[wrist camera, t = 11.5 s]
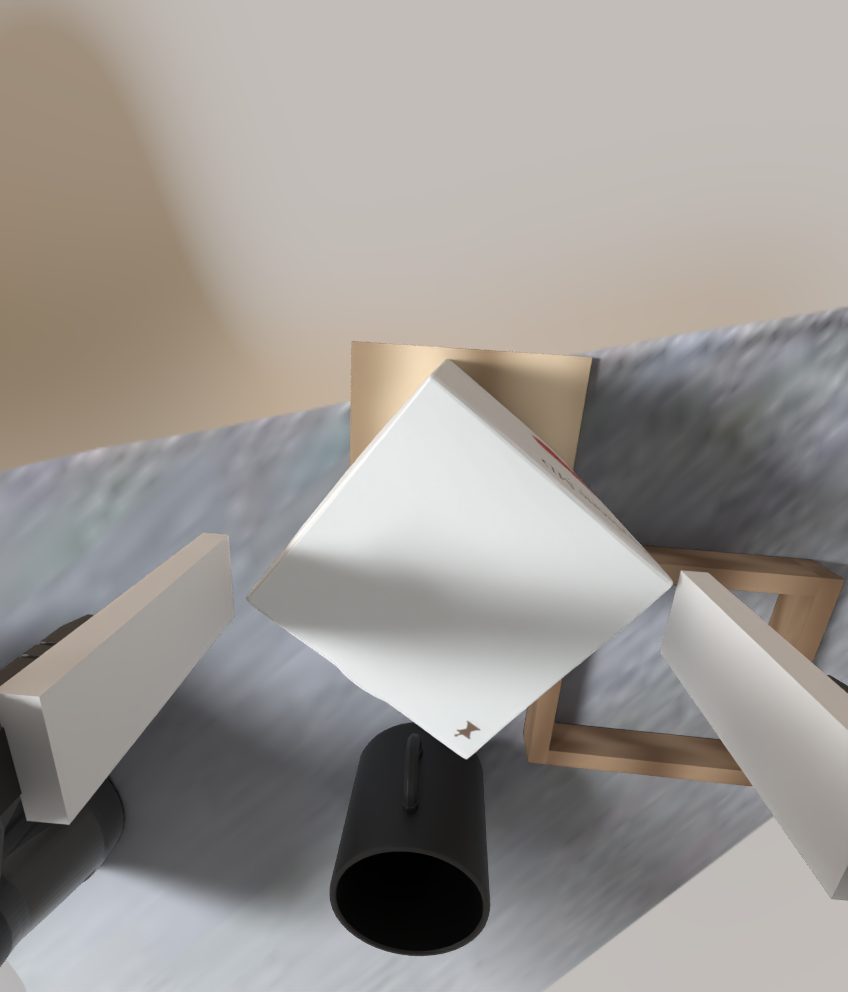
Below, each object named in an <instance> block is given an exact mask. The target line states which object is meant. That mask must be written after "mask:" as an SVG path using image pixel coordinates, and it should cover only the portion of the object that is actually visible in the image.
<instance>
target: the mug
mask: <svg viewBox="0 0 848 992" xmlns="http://www.w3.org/2000/svg"><path fill="white" fill-rule="evenodd" d="M330 901H331V906H332V909H333V911H334V913H335V915H336V917H337V918H338V920H339V921H340V922H341V924H342V925H343V926H344V927H345V928H346V929H347V930H348V931H349V932H350V933H352V934H353V935H354V936H356V937H357V938H359V939H360V940H362V941H363V942H365V943H367V944H369V945H371V946H374V947H376V948H378V949H381V950H384V951H387V952H392V953H396V954H401V955H409V956H429V955H437V954H443V953H447V952H450V951H453V950H456V949H458V948H460V947H462V946H464V945H466V944H468V943H469V942H471V941H472V940H473V939H474V938H476V937H477V936H478V935H479V934H480V932H481V931H482V930H483V928H484V927H485V925H486V922H487V920H488V916H489V911H490V893H489V876H488V858H487V841H486V823H485V806H484V788H483V772H482V767H481V764H480V761H479V759H478V757H477V756H476V754H475V753H474V754H473V755H472V756H471V757H469V758H468V759H465V758H463V757H461V756H460V755H458V754H457V753H455V752H454V751H453V750H451V749H450V748H448V747H447V746H446V745H444V744H443V743H442V742H440V741H439V740H437V739H436V738H435V737H433V736H432V735H431V734H429V733H428V732H427V731H425V730H424V729H423V728H421V727H420V726H418V725H417V724H416V723H411V724H403V725H398V726H395V727H392V728H389V729H387V730H385V731H383V732H381V733H380V734H378V735H377V736H376V737H375V738H374V739H372V740H371V741H370V743H369V744H368V745H367V746H366V748H365V749H364V751H363V753H362V755H361V757H360V761H359V765H358V769H357V774H356V778H355V782H354V786H353V791H352V795H351V799H350V803H349V807H348V812H347V816H346V820H345V824H344V829H343V833H342V837H341V841H340V846H339V850H338V854H337V858H336V863H335V867H334V871H333V875H332V880H331V884H330Z"/></svg>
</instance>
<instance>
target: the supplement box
mask: <svg viewBox="0 0 848 992" xmlns="http://www.w3.org/2000/svg"><path fill="white" fill-rule="evenodd" d="M672 584H673V581H672V580H671V578H670V577H669V576H668V574H667V573H666V572H665V571H664V570H663V569H662V568H661V567H660V566H659V564H658V563H657V562H656V561H655V560H654V559H653V558H652V557H651V556H650V554H649V553H648V552H647V551H646V550H645V549H644V548H643V547H642V546H641V544H640V543H639V542H638V541H637V540H636V539H635V538H634V537H633V536H632V535H631V534H630V533H629V531H628V530H627V529H626V528H625V527H624V526H623V525H622V524H621V523H620V522H619V520H618V519H617V518H616V517H615V516H614V515H613V514H612V513H611V512H610V511H609V509H608V508H607V507H606V506H605V505H604V504H603V503H602V502H601V501H600V500H599V499H598V498H597V497H596V495H595V494H594V493H593V492H592V491H591V490H590V489H589V488H588V487H587V486H586V485H585V484H584V483H583V481H582V480H581V479H580V478H579V477H578V476H577V475H576V474H575V473H574V472H573V471H572V469H571V468H570V467H569V466H568V465H567V464H566V463H565V462H564V461H563V459H562V458H561V457H560V456H559V455H558V454H557V453H556V452H555V451H554V450H552V449H551V448H550V447H549V446H548V445H547V444H546V443H545V442H544V441H543V440H542V439H540V438H539V437H538V436H537V435H536V434H535V433H534V432H533V431H532V430H531V429H529V428H528V427H527V426H526V425H525V424H524V423H523V422H521V421H520V420H519V419H518V418H517V417H516V416H515V415H513V414H512V413H511V412H510V411H509V410H508V409H507V408H505V407H504V406H503V405H502V404H501V403H500V402H498V401H497V400H496V399H495V398H494V397H493V396H492V395H490V394H489V393H488V392H487V391H486V390H485V389H483V388H482V387H481V386H480V385H479V384H478V383H477V382H475V381H474V380H473V379H472V378H471V377H470V376H469V375H467V374H466V373H465V372H464V371H463V370H462V369H460V368H459V367H458V366H457V365H456V364H455V363H453V362H452V361H451V360H449V359H446V360H444V361H443V362H442V363H441V364H440V365H439V367H437V368H436V369H435V370H434V371H433V372H432V373H431V374H430V375H429V376H428V377H427V378H426V380H425V381H424V382H423V383H422V384H421V385H420V386H419V387H418V388H417V390H416V391H415V392H414V393H413V394H412V395H411V396H410V397H409V399H408V400H407V401H406V402H405V403H404V404H403V405H402V407H401V408H400V409H399V410H398V411H397V412H396V413H395V415H394V416H393V417H392V418H391V419H390V420H389V422H388V423H387V424H386V425H385V426H384V427H383V429H382V430H381V431H380V432H379V433H378V434H377V435H376V437H375V438H374V439H373V440H372V441H371V443H370V444H369V445H368V446H367V447H366V449H365V450H364V451H363V452H362V453H361V455H360V456H359V457H358V458H357V459H356V461H355V462H354V463H353V464H352V465H351V467H350V468H349V469H348V470H347V471H346V473H345V474H344V475H343V476H342V478H341V479H340V480H339V481H338V482H337V484H336V485H335V486H334V487H333V489H332V490H331V491H330V492H329V494H328V495H327V496H326V497H325V499H324V500H323V501H322V502H321V504H320V505H319V506H318V507H317V508H316V510H315V511H314V512H313V513H312V515H311V516H310V517H309V518H308V520H307V521H306V522H305V523H304V525H303V526H302V527H301V528H300V530H299V531H298V532H297V533H296V535H295V536H294V537H293V538H292V540H291V541H290V542H289V543H288V545H287V546H286V547H285V548H284V550H283V551H282V552H281V553H280V555H279V556H278V557H277V558H276V560H275V561H274V562H273V564H272V565H271V566H270V567H269V568H268V570H267V571H266V572H265V573H264V574H263V576H262V577H261V578H260V579H259V580H258V582H257V583H256V584H255V585H254V586H253V588H252V589H251V590H250V592H249V593H248V594H247V597H246V599H247V601H248V602H249V603H250V605H252V606H253V607H254V608H256V609H257V610H259V611H260V612H261V613H263V614H264V615H266V616H267V617H269V618H270V619H271V620H273V621H274V622H276V623H277V624H278V625H280V626H281V627H283V628H284V629H285V630H287V631H288V632H289V633H291V634H292V635H294V636H295V637H296V638H298V639H299V640H301V641H302V642H303V643H305V644H306V645H308V646H309V647H310V648H312V649H313V650H315V651H316V652H317V653H319V654H320V655H322V656H323V657H324V658H326V659H327V660H329V661H330V662H331V663H333V664H334V665H335V666H337V667H338V668H339V669H340V671H341V672H342V673H343V674H344V675H345V676H346V677H347V678H349V679H350V680H351V681H352V682H353V683H355V684H356V685H357V686H359V687H360V688H361V689H363V690H364V691H366V692H368V693H369V694H371V695H373V696H375V697H377V698H379V699H381V700H383V701H385V702H387V703H388V704H390V705H391V706H392V707H394V708H395V709H396V710H398V711H399V712H401V713H402V714H403V715H405V716H406V717H408V718H409V719H410V720H412V721H413V722H414V723H416V724H417V725H418V726H420V727H421V728H423V729H424V730H425V731H427V732H428V733H429V734H431V735H432V736H433V737H435V738H436V739H437V740H439V741H440V742H442V743H443V744H444V745H446V746H447V747H448V748H450V749H451V750H453V751H454V752H455V753H457V754H458V755H460V756H461V757H463V758H465V759H468V758H469V757H471V756H472V755H473V754H474V753H475V752H477V751H478V750H479V749H480V748H481V747H482V746H483V745H484V744H485V743H487V742H488V741H489V740H490V739H491V738H492V737H493V736H495V735H496V734H497V733H498V732H499V731H500V730H502V729H503V728H504V727H505V726H506V725H507V724H508V723H510V722H511V721H512V720H513V719H514V718H515V717H517V716H518V715H519V714H520V713H521V712H523V711H524V710H525V709H526V708H527V707H528V706H530V705H531V704H532V703H533V702H534V701H536V700H537V699H538V698H539V697H540V696H541V695H543V694H544V693H545V692H546V691H547V690H549V689H550V688H551V687H552V686H553V685H555V684H556V683H557V682H558V681H559V680H561V679H562V678H563V677H564V676H565V675H567V674H568V673H569V672H570V671H571V670H573V669H574V668H575V667H576V666H578V665H579V664H580V663H582V662H583V661H584V660H585V659H586V658H588V657H589V656H590V655H591V654H593V653H594V652H595V651H596V650H598V649H599V648H600V647H601V646H603V645H604V644H605V643H606V642H608V641H609V640H610V639H611V638H613V637H614V636H615V635H616V634H618V633H619V632H620V631H621V630H623V629H624V628H625V627H626V626H628V625H629V624H630V623H631V622H632V621H633V620H635V619H636V618H637V617H638V616H639V615H640V614H641V613H642V612H644V611H645V610H646V609H647V608H648V607H649V606H650V605H651V604H653V603H654V602H655V601H656V600H657V599H658V598H659V597H661V596H662V595H663V594H664V593H665V592H666V591H667V590H669V589H670V588H671V586H672Z"/></svg>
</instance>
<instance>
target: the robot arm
mask: <svg viewBox="0 0 848 992" xmlns="http://www.w3.org/2000/svg"><path fill="white" fill-rule="evenodd" d="M234 617H235V615H234V601H233V588H232V574H231V560H230V546H229V535H224V534H212V533H202V534H201V535H200V536H198V537H197V538H196V539H194V540H193V541H192V542H190V543H189V544H188V545H186V546H185V547H184V548H182V549H181V550H180V551H178V552H177V553H176V554H174V555H173V556H172V557H170V558H169V559H168V560H166V561H165V562H164V563H163V564H161V565H160V566H159V567H157V568H156V569H155V570H153V571H152V572H151V573H149V574H148V575H147V576H145V577H144V578H143V579H141V580H140V581H139V582H137V583H136V584H135V585H133V586H132V587H131V588H130V589H128V590H127V591H126V592H124V593H123V594H122V595H120V596H119V597H118V598H116V599H115V600H114V601H112V602H111V603H110V604H108V605H107V606H106V607H104V608H103V609H102V610H100V611H99V612H98V613H96V614H95V615H86V616H83V617H81V618H79V619H77V620H75V621H72V622H70V623H68V624H66V625H64V626H62V627H60V628H59V629H57V630H56V631H55V632H53V633H52V634H50V635H49V636H48V637H46V638H45V639H43V640H42V641H41V643H40V645H35V646H34V647H32V648H31V649H30V650H28V651H27V652H25V653H24V654H23V657H22V658H17V659H16V660H14V661H13V662H12V663H10V664H9V665H7V666H6V667H5V668H3V669H2V670H1V671H0V967H1V965H2V964H3V962H4V961H5V960H6V958H7V957H8V955H9V954H10V953H11V952H12V950H13V949H14V948H15V946H16V945H17V944H18V943H19V942H20V941H21V939H22V938H24V937H25V936H26V935H27V934H28V933H29V932H30V931H31V930H32V929H33V928H35V927H36V926H37V925H38V924H39V923H40V922H41V921H42V920H43V919H44V918H45V917H47V916H48V915H49V914H50V913H51V912H52V911H53V910H54V909H55V908H56V907H57V906H58V905H60V904H61V903H62V902H63V901H64V900H65V899H66V898H67V897H68V896H69V895H70V894H71V893H72V892H73V891H74V890H75V889H76V888H77V887H78V886H79V885H80V884H81V883H83V882H84V881H86V880H87V879H88V878H90V877H91V876H92V875H93V874H94V873H95V872H96V871H97V870H98V868H99V867H100V866H101V865H102V863H103V862H104V860H105V859H106V858H107V856H108V855H109V853H110V852H111V850H112V849H113V847H114V846H115V844H116V843H117V842H118V840H119V838H120V836H121V834H122V830H123V826H124V813H123V808H122V804H121V801H120V799H119V796H118V794H117V792H116V790H115V789H114V787H113V786H112V784H111V783H110V781H109V780H108V779H107V777H108V775H109V774H110V773H111V772H112V770H113V769H114V768H115V767H116V765H117V764H118V763H119V761H120V760H121V759H122V758H123V756H124V755H125V754H126V753H127V751H128V750H129V749H130V748H131V746H132V745H133V744H134V743H135V741H136V740H137V739H138V738H139V736H140V735H141V734H142V732H143V731H144V730H145V729H146V727H147V726H148V725H149V724H150V722H151V721H152V720H153V719H154V717H155V716H156V715H157V714H158V712H159V711H160V710H161V709H162V707H163V706H164V705H165V704H166V702H167V701H168V700H169V698H170V697H171V696H172V695H173V693H174V692H175V691H176V690H177V688H178V687H179V686H180V685H181V683H182V682H183V681H184V680H185V678H186V677H187V676H188V675H189V673H190V672H191V671H192V669H193V668H194V667H195V666H196V664H197V663H198V662H199V661H200V659H201V658H202V657H203V656H204V654H205V653H206V652H207V651H208V649H209V648H210V647H211V646H212V644H213V643H214V642H215V640H216V639H217V638H218V637H219V635H220V634H221V633H222V632H223V630H224V629H225V628H226V627H227V625H228V624H229V623H230V622H231V620H232V619H233V618H234ZM660 653H661V655H662V656H663V657H664V659H665V660H666V662H667V663H668V665H669V666H670V667H671V669H672V670H673V672H674V673H675V675H676V676H677V678H678V679H679V680H680V682H681V683H682V685H683V686H684V688H685V689H686V691H687V692H688V693H689V695H690V696H691V698H692V699H693V701H694V702H695V703H696V705H697V706H698V708H699V709H700V711H701V712H702V714H703V715H704V716H705V718H706V719H707V721H708V722H709V724H710V725H711V726H712V728H713V729H714V731H715V732H716V734H717V735H718V737H719V738H720V739H721V741H722V742H723V744H724V745H725V747H726V748H727V750H728V751H729V752H730V754H731V755H732V757H733V758H734V760H735V761H736V762H737V764H738V765H739V767H740V768H741V770H742V771H743V773H744V774H745V775H746V777H747V778H748V780H749V781H750V783H751V784H752V786H753V787H754V788H755V790H756V791H757V793H758V794H759V796H760V797H761V798H762V800H763V801H764V803H765V804H766V806H767V807H768V809H769V810H770V811H771V813H772V814H773V816H774V817H775V819H776V820H777V822H778V823H779V824H780V826H781V827H782V829H783V830H784V832H785V833H786V834H787V836H788V837H789V839H790V840H791V842H792V843H793V845H794V846H795V847H796V849H797V850H798V852H799V853H800V855H801V856H802V858H803V859H804V860H805V862H806V863H807V865H808V866H809V868H810V869H811V870H812V872H813V873H814V875H815V876H816V878H817V879H818V881H819V882H820V883H821V885H822V886H823V887H824V889H825V891H826V892H827V893H828V895H829V896H830V898H831V899H839V900H848V686H847V685H845V684H844V683H842V682H840V681H839V680H837V679H835V678H834V677H832V676H830V675H826V674H825V673H823V672H822V671H821V670H820V669H819V668H818V667H816V666H815V665H814V664H813V663H812V662H811V661H810V660H808V659H807V658H806V657H805V656H804V655H803V654H801V653H800V652H799V651H798V650H797V649H796V648H795V647H793V646H792V645H791V644H790V643H789V642H788V641H786V640H785V639H784V638H783V637H782V636H781V635H780V634H778V633H777V632H776V631H775V630H774V629H773V628H771V627H770V626H769V625H768V624H767V623H766V622H765V621H763V620H762V619H761V618H760V617H759V616H758V615H756V614H755V613H754V612H753V611H752V610H751V609H750V608H748V607H747V606H746V605H745V604H744V603H743V602H741V601H740V600H739V599H738V598H737V597H736V596H735V595H733V594H732V593H731V592H730V591H729V590H728V589H726V588H725V587H724V586H723V585H722V584H721V583H720V582H718V581H717V580H716V579H715V578H714V577H713V576H711V575H710V574H709V573H707V572H694V571H682V570H681V572H680V576H679V580H678V584H677V588H676V591H675V595H674V599H673V603H672V607H671V611H670V615H669V618H668V622H667V626H666V630H665V634H664V638H663V641H662V645H661V649H660Z"/></svg>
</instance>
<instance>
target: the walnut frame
mask: <svg viewBox="0 0 848 992" xmlns="http://www.w3.org/2000/svg"><path fill="white" fill-rule="evenodd" d="M641 546H642V545H641ZM642 547H643V548H644V549H645V550H646V551H647V552H648V553H649V554H650V556H651V557H652V558H653V559H654V560H655V561H656V562H657V563H658V564H659V566H660V567H661V568H662V569H663V570H664V571H665V572H666V573H667V574H668V576H669V577H670V578H671V580H672V581H673V584H674V585H677V584H678V580H679V576H680V572H681V570H682V571H694V572H707V573H709V574H710V575H711V576H713V577H714V578H715V579H716V580H717V581H718V582H720V583H721V584H722V585H723V586H724V587H725V588H726V589H731V590H742V591H754V592H765V593H776V594H779V596H778V599H777V602H776V605H775V608H774V611H773V614H772V617H771V619H770V622H769V626H770V627H771V628H773V629H774V630H775V631H776V632H777V633H778V634H780V635H781V636H782V637H783V638H784V639H785V640H786V641H788V642H789V643H790V644H791V645H792V646H793V647H795V648H796V649H797V650H798V651H799V652H800V653H801V654H803V655H804V656H805V657H806V658H807V659H808V660H810V661H811V662H813V660H814V657H815V655H816V652H817V650H818V647H819V645H820V642H821V639H822V637H823V634H824V632H825V629H826V627H827V624H828V622H829V619H830V617H831V614H832V612H833V609H834V606H835V604H836V601H837V599H838V596H839V594H840V591H841V589H842V586H843V584H844V581H845V580H844V579H843V578H841V577H839V576H838V575H836V574H835V573H833V572H831V571H830V570H828V569H826V568H825V567H823V566H821V565H820V564H818V563H817V562H815V561H813V560H808V559H796V558H784V557H772V556H760V555H749V554H737V553H725V552H713V551H701V550H690V549H678V548H666V547H654V546H642ZM561 683H562V679H561V680H559V681H558V682H557V683H556V684H555V685H553V686H552V687H551V688H550V689H549V690H547V691H546V692H545V693H544V694H543V695H541V696H540V697H539V698H538V699H537V700H536V701H534V702H533V703H532V704H531V705H530V706H528V707H527V712H526V718H525V724H524V730H523V735H524V741H525V747H526V753H527V759H528V762H529V763H538V764H548V765H557V766H566V767H576V768H585V769H594V770H604V771H613V772H622V773H632V774H641V775H650V776H660V777H669V778H678V779H688V780H697V781H706V782H716V783H725V784H734V785H744V786H752V784H751V783H750V781H749V780H748V778H747V777H746V775H745V774H744V773H743V771H742V770H741V768H740V767H739V765H738V764H737V762H736V761H735V760H734V758H733V757H732V755H731V754H730V752H729V751H728V750H727V748H726V747H725V745H724V744H723V742H722V741H721V740H717V739H707V738H698V737H688V736H678V735H669V734H659V733H649V732H639V731H630V730H620V729H610V728H601V727H591V726H581V725H571V724H562V723H554V720H555V714H556V709H557V704H558V699H559V694H560V688H561Z"/></svg>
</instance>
